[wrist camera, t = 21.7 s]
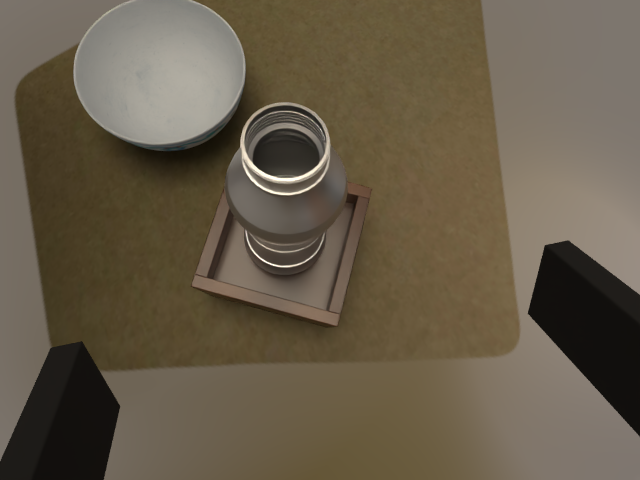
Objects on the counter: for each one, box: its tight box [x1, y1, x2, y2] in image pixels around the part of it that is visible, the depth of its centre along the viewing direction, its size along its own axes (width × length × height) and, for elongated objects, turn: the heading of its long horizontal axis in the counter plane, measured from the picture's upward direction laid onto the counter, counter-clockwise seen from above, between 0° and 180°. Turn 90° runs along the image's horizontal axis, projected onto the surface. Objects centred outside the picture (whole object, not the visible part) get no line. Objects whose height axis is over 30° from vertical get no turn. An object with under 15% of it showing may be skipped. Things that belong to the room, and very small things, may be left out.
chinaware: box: [73, 0, 246, 151], centre depth 41 cm, size 15×15×8 cm
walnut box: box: [191, 151, 372, 327], centre depth 38 cm, size 12×12×8 cm
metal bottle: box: [225, 102, 348, 275], centre depth 27 cm, size 6×7×20 cm
